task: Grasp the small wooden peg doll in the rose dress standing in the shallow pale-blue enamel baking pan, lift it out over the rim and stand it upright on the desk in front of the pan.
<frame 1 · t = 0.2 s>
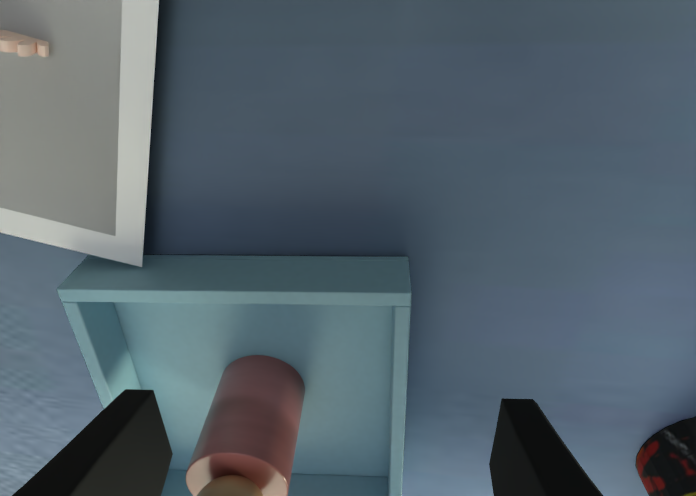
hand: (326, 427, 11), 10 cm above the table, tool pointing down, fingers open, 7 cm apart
touchpad: (51, 35, 17), on the table
peg doll: (263, 386, 24), resting on baking pan
baking pan: (264, 381, 24), on the table
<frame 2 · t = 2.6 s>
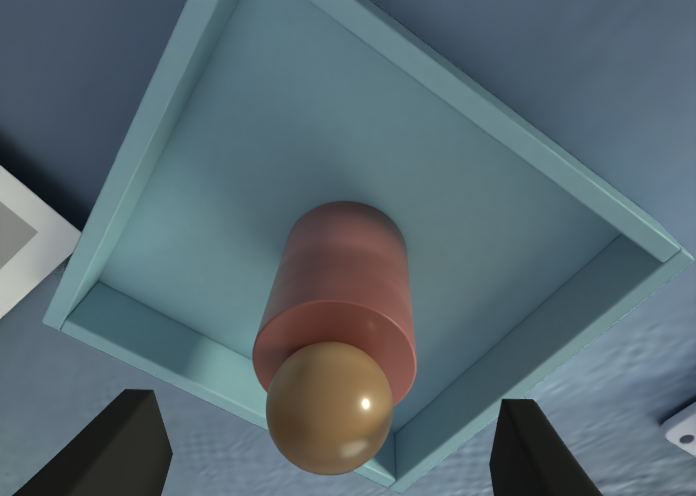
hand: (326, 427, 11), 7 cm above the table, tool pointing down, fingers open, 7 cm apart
peg doll: (346, 255, 17), resting on baking pan
baking pan: (346, 250, 17), on the table
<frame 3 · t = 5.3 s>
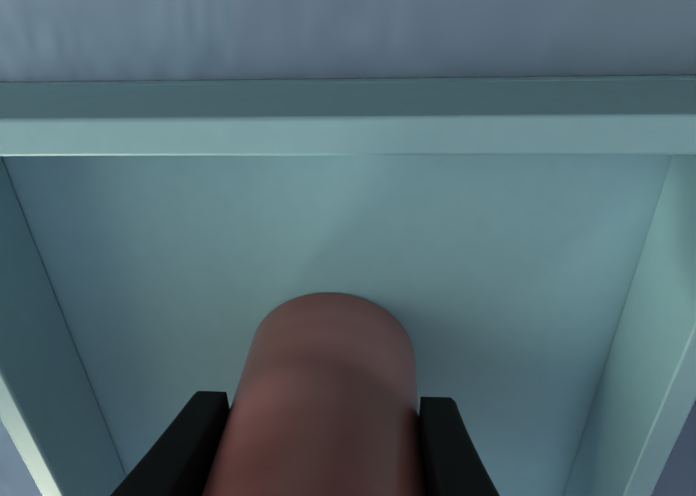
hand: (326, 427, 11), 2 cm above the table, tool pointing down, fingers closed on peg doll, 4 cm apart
peg doll: (332, 357, 12), resting on baking pan, touching gripper
baking pan: (334, 349, 13), on the table
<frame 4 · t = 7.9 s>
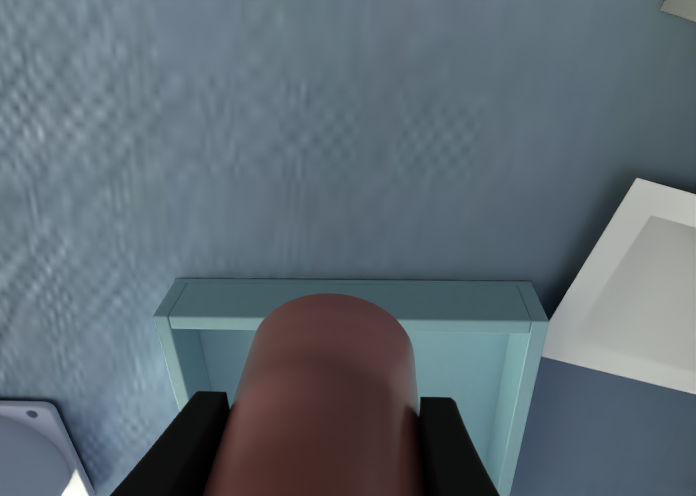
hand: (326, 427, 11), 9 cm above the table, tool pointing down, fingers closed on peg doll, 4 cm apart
peg doll: (332, 358, 12), point 7 cm above the table, touching gripper
baking pan: (352, 397, 23), on the table
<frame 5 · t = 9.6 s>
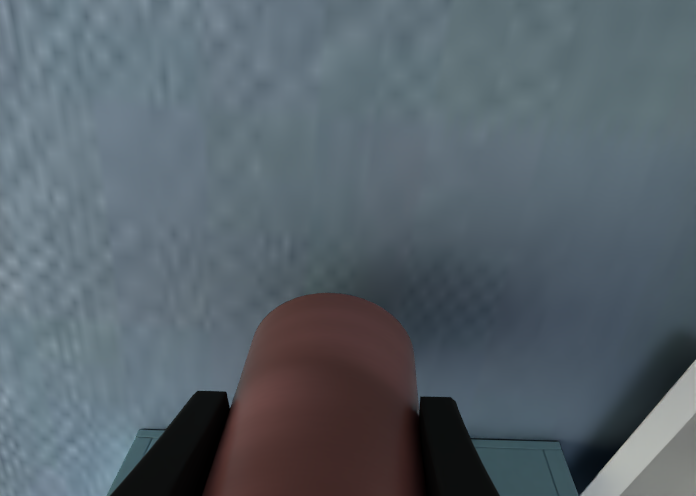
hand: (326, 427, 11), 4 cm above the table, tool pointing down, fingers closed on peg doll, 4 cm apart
peg doll: (332, 357, 12), point 2 cm above the table, touching gripper
when the fingers open (2 cm above the table, at t = 10.7 s): peg doll stays where it is, on the table.
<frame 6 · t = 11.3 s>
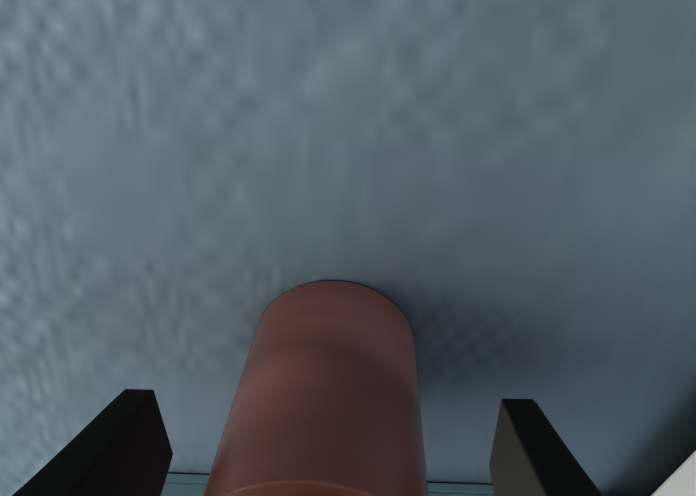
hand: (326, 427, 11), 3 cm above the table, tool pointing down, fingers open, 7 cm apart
peg doll: (334, 344, 13), on the table
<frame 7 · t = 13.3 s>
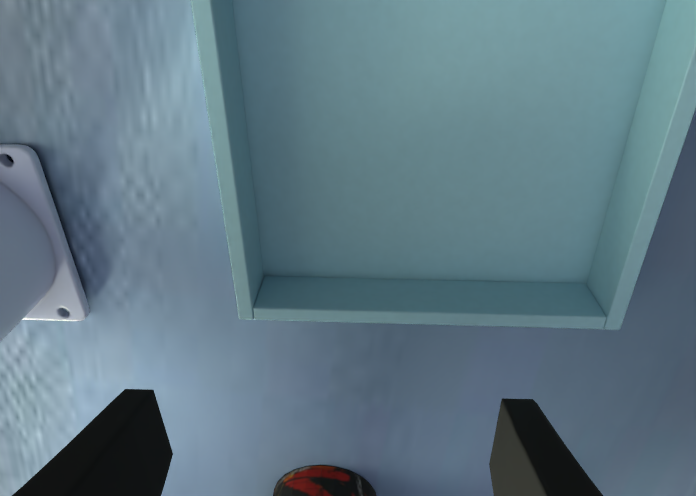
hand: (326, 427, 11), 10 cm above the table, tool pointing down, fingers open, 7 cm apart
deodorant: (325, 495, 29), on the table
baking pan: (433, 132, 18), on the table
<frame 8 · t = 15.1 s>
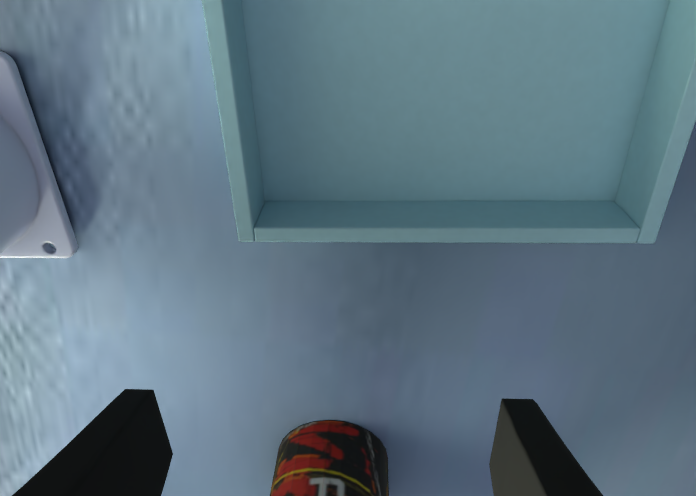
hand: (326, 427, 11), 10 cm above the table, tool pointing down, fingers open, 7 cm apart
deodorant: (333, 454, 27), on the table
baking pan: (448, 25, 16), on the table
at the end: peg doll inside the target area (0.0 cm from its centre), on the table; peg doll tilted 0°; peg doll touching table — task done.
